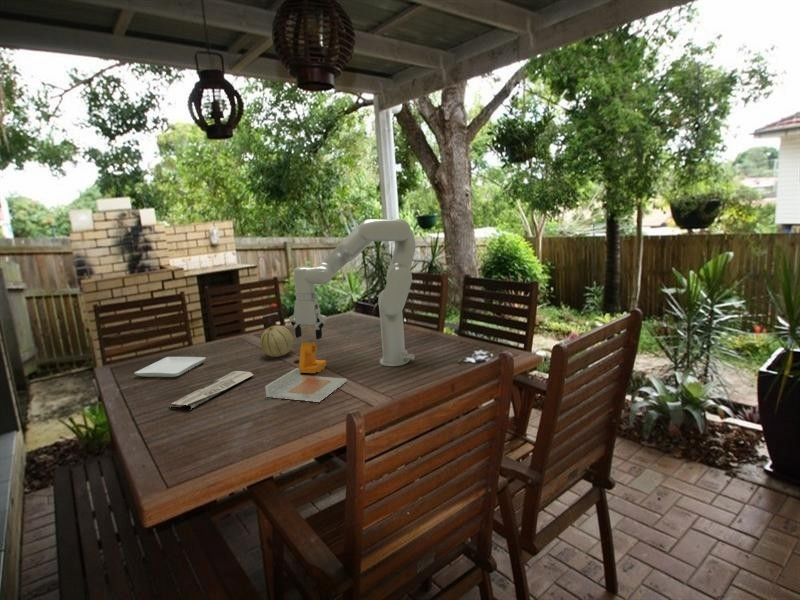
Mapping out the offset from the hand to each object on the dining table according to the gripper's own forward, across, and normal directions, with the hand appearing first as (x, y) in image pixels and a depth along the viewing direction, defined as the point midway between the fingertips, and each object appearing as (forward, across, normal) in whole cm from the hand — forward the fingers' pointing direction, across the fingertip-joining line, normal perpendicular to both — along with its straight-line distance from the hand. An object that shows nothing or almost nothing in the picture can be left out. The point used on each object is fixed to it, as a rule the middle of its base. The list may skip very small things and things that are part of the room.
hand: (308, 337), depth 188 cm
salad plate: (+16, +64, +12) cm, 67 cm away
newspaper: (+16, +25, +29) cm, 41 cm away
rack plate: (+14, -11, +20) cm, 26 cm away
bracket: (+14, -1, 0) cm, 14 cm away
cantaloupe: (+15, +27, -14) cm, 34 cm away
